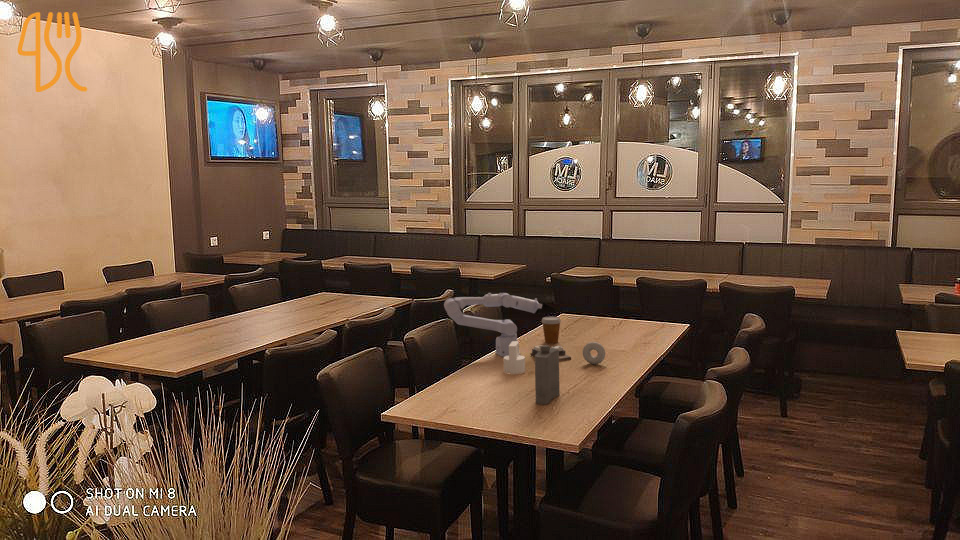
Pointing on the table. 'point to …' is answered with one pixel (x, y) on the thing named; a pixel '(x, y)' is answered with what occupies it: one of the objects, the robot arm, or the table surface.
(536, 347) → the tile one
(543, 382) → the flask
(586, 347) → the donut
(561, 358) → the dark brown cabinet frame
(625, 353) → the table surface
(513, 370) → the cylinder with rectangular tab
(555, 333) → the disposable coffee cup
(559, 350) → the tile two
